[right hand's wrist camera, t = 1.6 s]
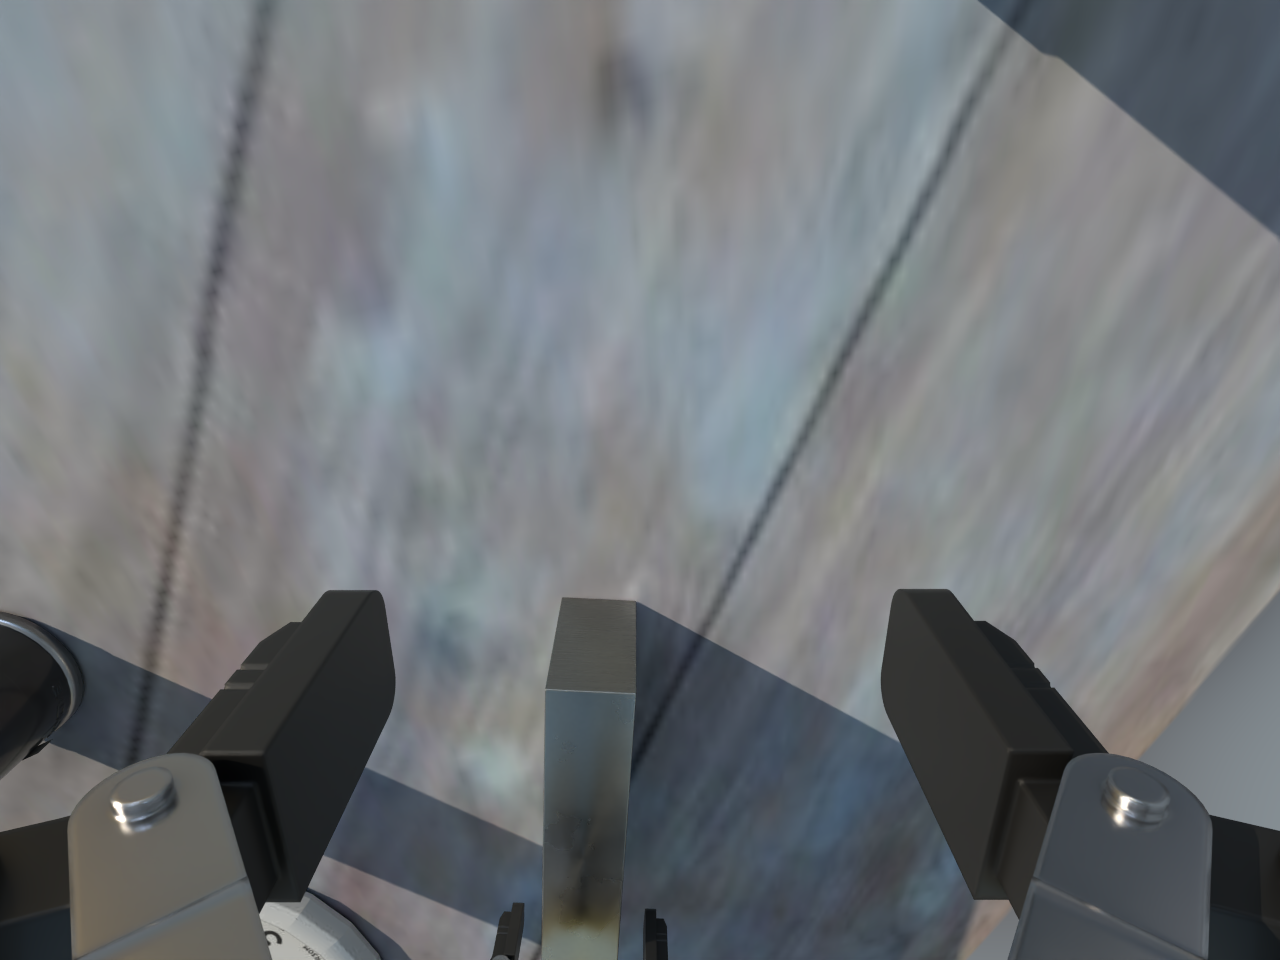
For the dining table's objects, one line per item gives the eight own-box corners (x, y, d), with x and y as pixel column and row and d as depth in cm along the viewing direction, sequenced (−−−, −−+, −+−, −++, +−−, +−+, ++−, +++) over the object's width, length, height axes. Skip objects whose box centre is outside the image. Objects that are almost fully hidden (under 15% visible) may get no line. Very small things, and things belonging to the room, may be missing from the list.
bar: (561, 596, 46) (545, 689, 37) (636, 600, 46) (636, 693, 37) (555, 864, 54) (540, 990, 45) (618, 867, 54) (615, 992, 46)
